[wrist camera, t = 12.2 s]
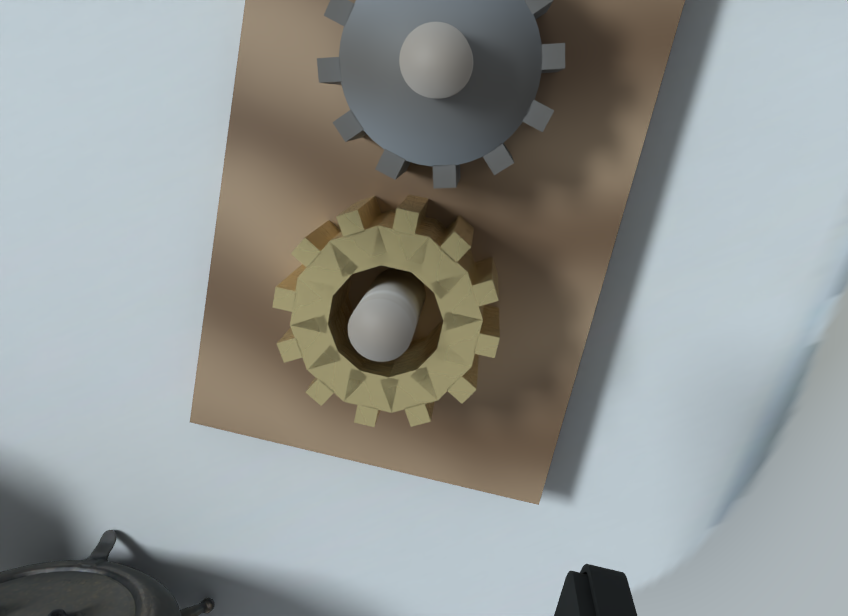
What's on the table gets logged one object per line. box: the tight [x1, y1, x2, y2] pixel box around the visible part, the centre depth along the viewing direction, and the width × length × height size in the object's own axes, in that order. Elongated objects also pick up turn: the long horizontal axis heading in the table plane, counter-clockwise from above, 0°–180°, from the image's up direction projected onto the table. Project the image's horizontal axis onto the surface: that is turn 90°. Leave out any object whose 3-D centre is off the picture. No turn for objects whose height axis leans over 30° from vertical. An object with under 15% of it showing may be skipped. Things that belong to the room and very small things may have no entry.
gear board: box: [190, 0, 685, 505], centre depth 24 cm, size 22×14×6 cm, turn 168°
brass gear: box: [272, 194, 500, 427], centre depth 25 cm, size 7×7×4 cm
